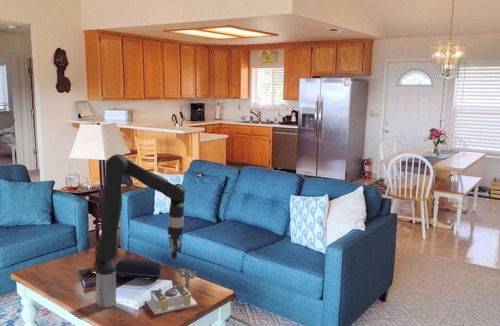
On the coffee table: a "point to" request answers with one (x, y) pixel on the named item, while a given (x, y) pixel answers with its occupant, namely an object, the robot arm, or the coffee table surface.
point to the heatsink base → (170, 308)
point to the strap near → (159, 295)
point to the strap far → (182, 290)
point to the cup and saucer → (94, 266)
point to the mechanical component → (187, 275)
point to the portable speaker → (138, 268)
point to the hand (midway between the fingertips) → (174, 258)
